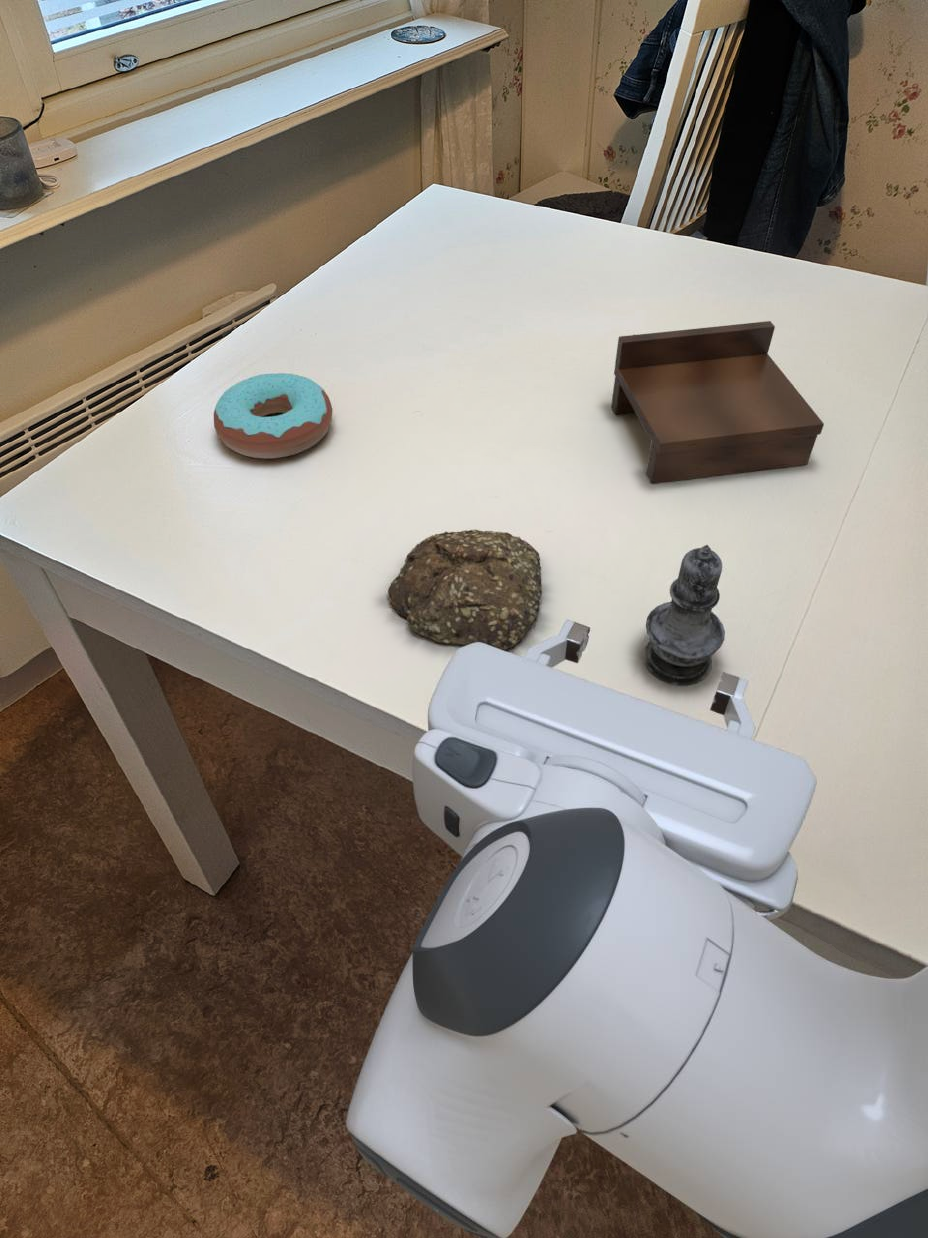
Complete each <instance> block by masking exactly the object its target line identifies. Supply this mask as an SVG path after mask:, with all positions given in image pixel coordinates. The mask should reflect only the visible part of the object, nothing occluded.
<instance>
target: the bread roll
mask: <svg viewBox="0 0 928 1238" xmlns="http://www.w3.org/2000/svg"><path fill="white" fill-rule="evenodd" d="M404 559H405V560H404V565H403V566H402V567H401V568H400V571H399V574H398V575H397V576H396V577H395V578H394V579H393V580H392V581H391V583H390V585H389V587H388V589H387V594H388V598H389V602H390V604H391V606H392V607H393V609H394V610H395V611H396V612H397V614H398V615H399V616H401V617H405V618H406V621H407V625H408V627H409V628H410V629H411V630H412V631H413V632H414V633H417V634H418V635H419V636H421V637H426V638H429V639H431V640H433V641H435V642H436V643H444V644H448V645H462V646H467V645H469V644H472V643H475V642H481V643H484V644H487V645H490V646H492V647H495V648H498V649H501V650H503V651H505V650H507V649H510V648H512V647H514V646H515V645H517V643H518V642H520V641H522V640H523V637H524V636H525V635H526V633H527V632H528V631H529V629H530V628H531V627H532V625H533V622H534V621H535V620H536V619H537V617H538V615H539V613H540V606H541V603H542V593H543V590H542V572H541V571H542V566H541V557H540V553H539V552H538V551H537V550H536V549H535V547H533V546H532V545H531V544H530V543H528V542H527V541H526V540H524V539H522V538H521V537H520V536H516V535H515V536H514V535H512V533H509V532H503V531H493V530H479V529H469V530H462V531H449V532H448V531H443V532H442V533H436V534H431V535H430V536H428V537H426V538H425V539H423V540H421V541H420V542H418V543H416V545H415V546H414V547H413V548H412V549H411V550H410V552H409V553H408V554H407V555H406V557H405V558H404Z"/></svg>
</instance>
